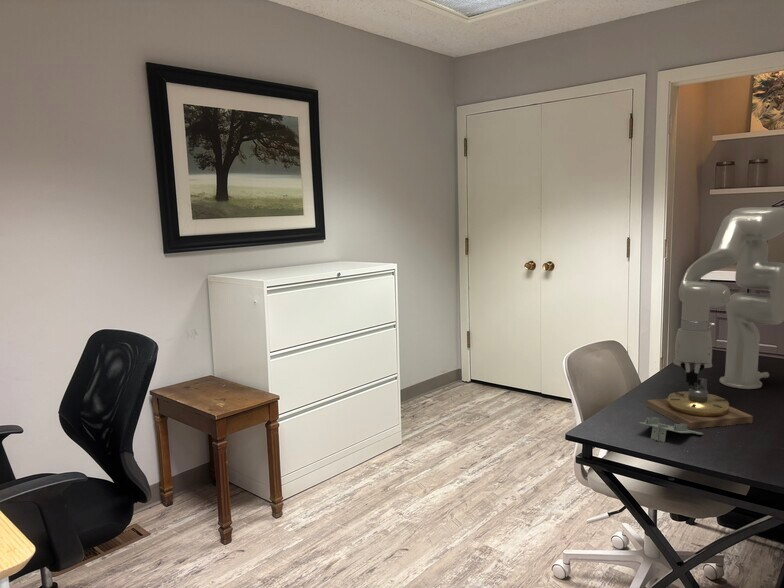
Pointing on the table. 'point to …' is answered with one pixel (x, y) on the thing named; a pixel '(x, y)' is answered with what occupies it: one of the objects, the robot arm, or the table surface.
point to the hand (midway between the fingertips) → (691, 384)
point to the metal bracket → (665, 428)
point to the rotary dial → (698, 401)
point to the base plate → (699, 421)
